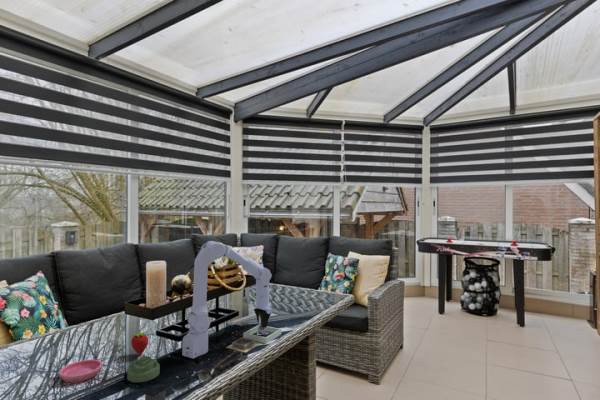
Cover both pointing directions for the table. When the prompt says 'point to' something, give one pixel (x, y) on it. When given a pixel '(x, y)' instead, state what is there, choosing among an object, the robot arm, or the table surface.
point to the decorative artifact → (143, 369)
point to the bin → (248, 335)
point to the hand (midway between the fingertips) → (262, 326)
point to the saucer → (80, 370)
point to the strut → (260, 329)
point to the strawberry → (139, 342)
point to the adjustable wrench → (242, 319)
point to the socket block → (243, 345)
